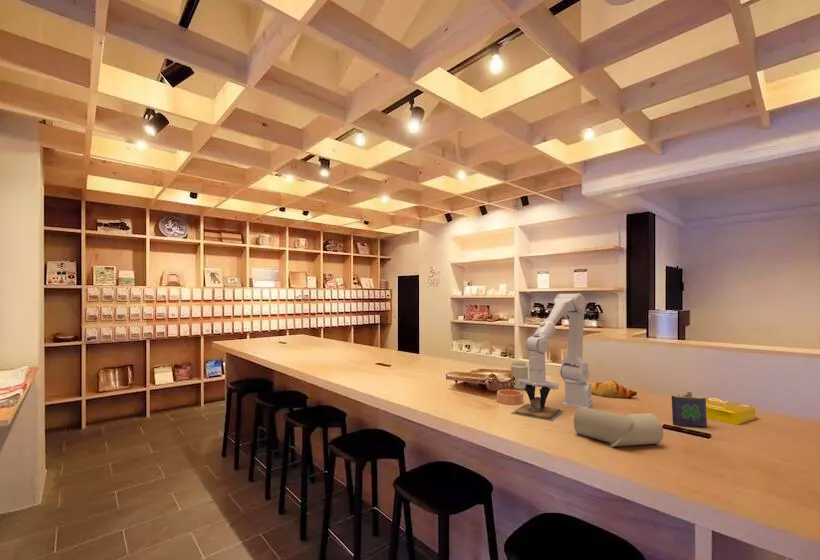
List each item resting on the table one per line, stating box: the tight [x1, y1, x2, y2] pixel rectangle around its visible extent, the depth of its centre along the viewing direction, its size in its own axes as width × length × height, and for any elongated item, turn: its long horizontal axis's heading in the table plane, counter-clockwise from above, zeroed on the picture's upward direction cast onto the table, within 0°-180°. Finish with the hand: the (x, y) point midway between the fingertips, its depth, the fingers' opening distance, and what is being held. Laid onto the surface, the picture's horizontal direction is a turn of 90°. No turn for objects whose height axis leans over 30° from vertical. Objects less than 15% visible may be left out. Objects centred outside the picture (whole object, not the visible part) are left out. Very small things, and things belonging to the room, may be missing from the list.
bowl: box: [496, 389, 524, 406], centre depth 157 cm, size 10×10×4 cm
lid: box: [514, 396, 561, 419], centre depth 143 cm, size 12×12×5 cm
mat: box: [510, 403, 565, 422], centre depth 142 cm, size 15×15×1 cm
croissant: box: [589, 379, 638, 399], centre depth 168 cm, size 21×10×8 cm, turn 55°
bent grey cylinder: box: [573, 407, 664, 448], centre depth 116 cm, size 18×10×20 cm
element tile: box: [705, 397, 756, 425], centre depth 139 cm, size 15×15×5 cm
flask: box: [671, 390, 708, 429], centre depth 128 cm, size 10×3×12 cm, turn 78°
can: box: [510, 361, 529, 391], centre depth 182 cm, size 8×8×12 cm
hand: (537, 406), depth 142 cm, fingers closed on lid, 3 cm apart
